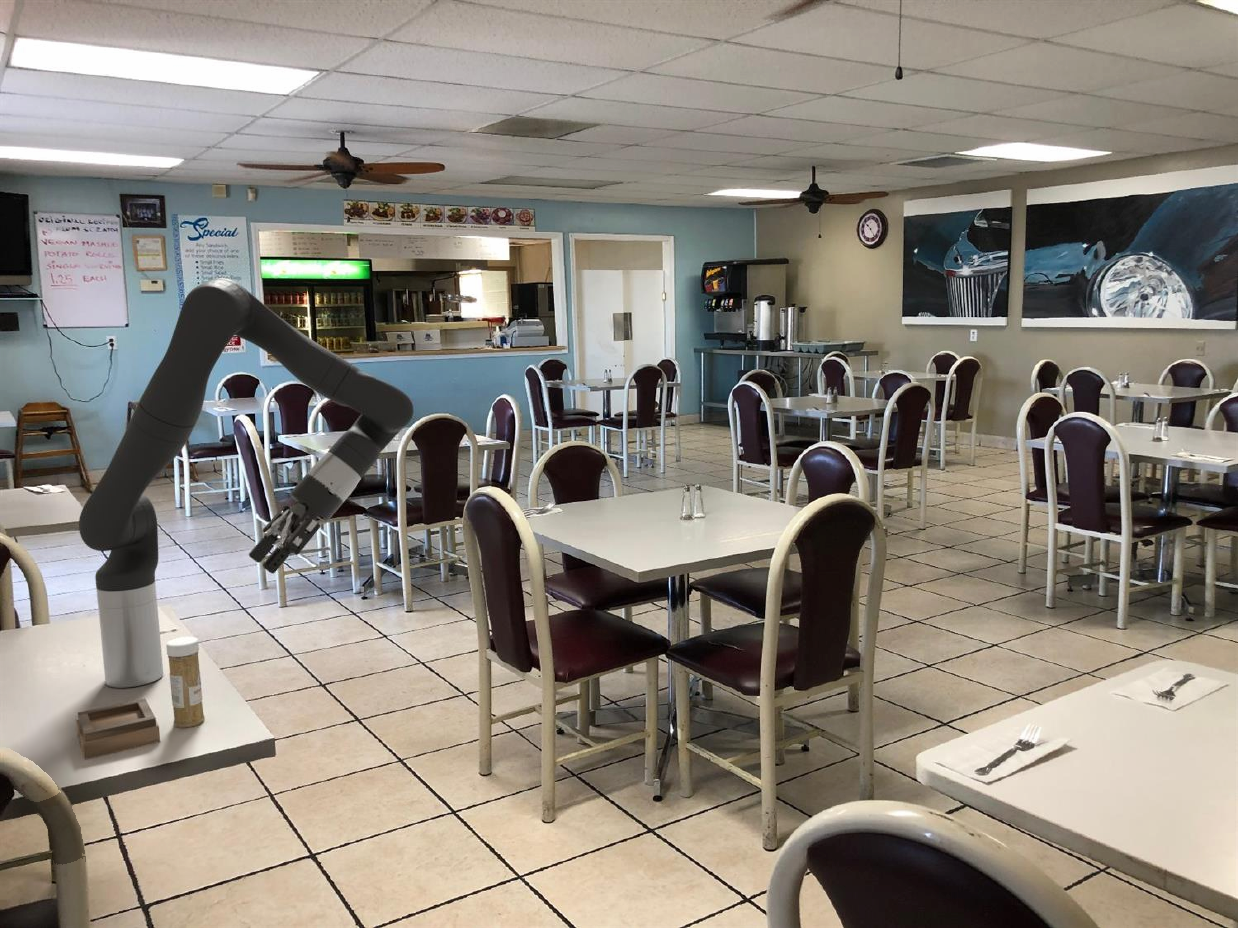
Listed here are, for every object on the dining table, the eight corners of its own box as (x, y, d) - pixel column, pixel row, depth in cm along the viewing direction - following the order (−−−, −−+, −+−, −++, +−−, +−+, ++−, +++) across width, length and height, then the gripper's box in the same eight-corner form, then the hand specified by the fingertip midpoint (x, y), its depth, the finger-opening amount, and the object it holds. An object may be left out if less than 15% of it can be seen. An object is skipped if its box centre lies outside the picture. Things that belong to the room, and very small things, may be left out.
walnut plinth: (77, 735, 149) (75, 712, 149) (148, 719, 155) (146, 697, 154) (85, 759, 141) (82, 735, 141) (160, 741, 147) (158, 718, 146)
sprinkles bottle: (207, 724, 153) (200, 641, 151) (175, 731, 150) (168, 647, 148) (201, 714, 157) (195, 633, 155) (170, 721, 154) (163, 639, 152)
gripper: (296, 467, 166) (231, 543, 161) (322, 477, 154) (253, 559, 149) (329, 494, 169) (266, 569, 165) (357, 506, 158) (290, 587, 153)
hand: (260, 564), depth 157 cm, fingers open, 8 cm apart
